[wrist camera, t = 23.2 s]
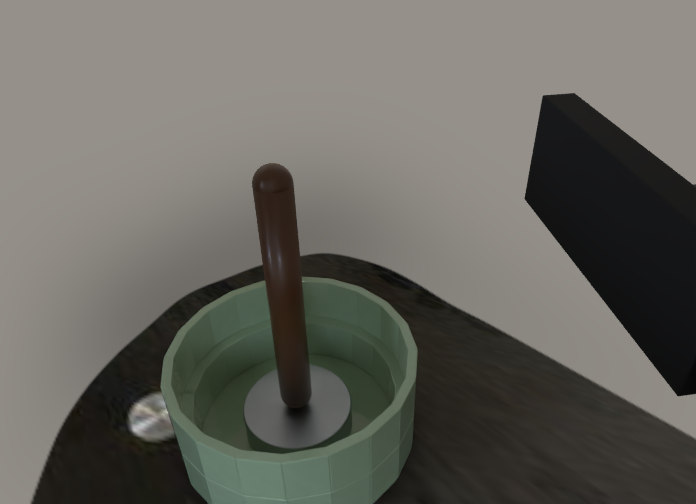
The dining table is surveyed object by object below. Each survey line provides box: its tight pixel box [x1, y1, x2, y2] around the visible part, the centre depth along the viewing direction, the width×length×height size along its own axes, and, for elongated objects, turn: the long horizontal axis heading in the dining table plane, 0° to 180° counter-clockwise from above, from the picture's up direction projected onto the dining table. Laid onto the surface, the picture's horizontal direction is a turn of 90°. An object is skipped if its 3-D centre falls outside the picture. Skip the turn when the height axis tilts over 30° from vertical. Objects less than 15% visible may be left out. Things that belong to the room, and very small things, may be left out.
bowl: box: [161, 277, 418, 504], centre depth 37 cm, size 15×15×7 cm
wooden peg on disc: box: [243, 163, 352, 454], centre depth 34 cm, size 7×7×19 cm
